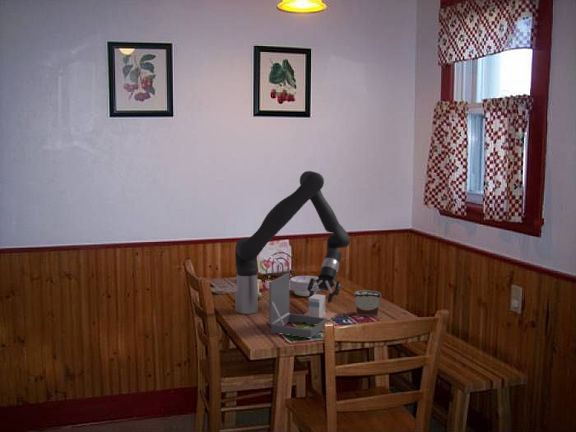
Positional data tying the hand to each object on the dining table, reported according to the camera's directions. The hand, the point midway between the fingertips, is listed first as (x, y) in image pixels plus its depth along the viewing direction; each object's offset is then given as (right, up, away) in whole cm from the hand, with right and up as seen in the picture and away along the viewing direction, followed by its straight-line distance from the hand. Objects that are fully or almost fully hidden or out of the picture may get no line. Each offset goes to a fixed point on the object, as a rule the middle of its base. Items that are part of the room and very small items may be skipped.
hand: (319, 301), depth 288 cm
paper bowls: (-5, -2, +37) cm, 37 cm away
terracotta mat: (-1, -7, -2) cm, 7 cm away
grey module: (-1, -7, -1) cm, 7 cm away
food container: (+21, -6, +5) cm, 23 cm away
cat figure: (-30, -2, +38) cm, 49 cm away
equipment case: (-9, -9, -18) cm, 22 cm away
